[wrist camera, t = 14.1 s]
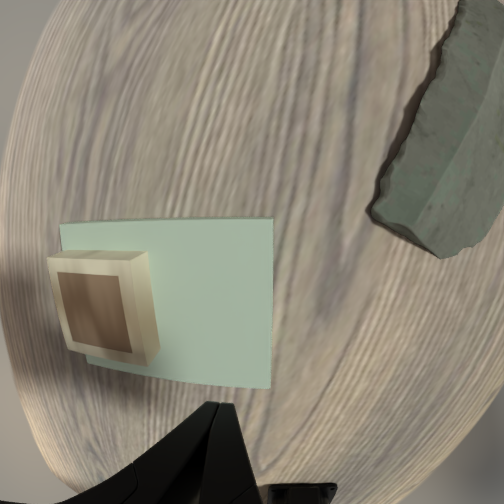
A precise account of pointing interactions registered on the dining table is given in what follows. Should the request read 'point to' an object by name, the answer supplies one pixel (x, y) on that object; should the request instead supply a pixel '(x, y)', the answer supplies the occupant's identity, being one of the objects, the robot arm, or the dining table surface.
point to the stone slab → (454, 142)
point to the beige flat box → (106, 304)
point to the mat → (198, 294)
